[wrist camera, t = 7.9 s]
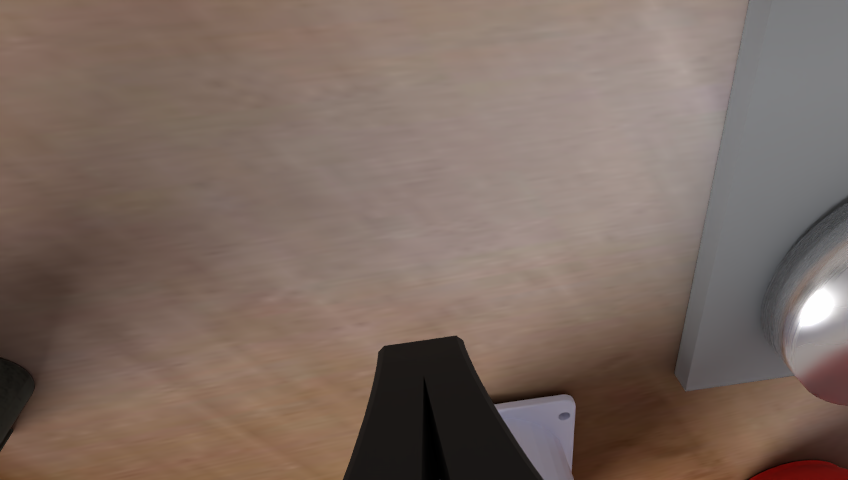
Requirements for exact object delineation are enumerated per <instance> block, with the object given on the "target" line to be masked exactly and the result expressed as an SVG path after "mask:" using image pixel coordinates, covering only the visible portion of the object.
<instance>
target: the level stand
mask: <svg viewBox="0 0 848 480" xmlns="http://www.w3.org/2000/svg"><path fill="white" fill-rule="evenodd" d="M847 202H848V0H749V5H748V10H747V15H746V20H745V25H744V30H743V35H742V40H741V45H740V49H739V54H738V59H737V64H736V69H735V74H734V79H733V84H732V89H731V94H730V99H729V104H728V109H727V114H726V119H725V124H724V129H723V134H722V139H721V144H720V149H719V154H718V159H717V164H716V169H715V174H714V179H713V184H712V189H711V194H710V199H709V204H708V209H707V214H706V219H705V224H704V229H703V234H702V239H701V244H700V249H699V254H698V259H697V264H696V269H695V274H694V278H693V283H692V288H691V293H690V298H689V303H688V308H687V313H686V318H685V323H684V328H683V333H682V338H681V343H680V348H679V353H678V358H677V363H676V368H675V373H674V374H675V375H676V377H677V379H678V380H679V382H680V384H681V385H682V387H683V388H684V390H685V391H692V390H699V389H705V388H712V387H719V386H726V385H733V384H740V383H747V382H754V381H760V380H767V379H774V378H781V377H788V376H795V375H794V374H793V373H792V372H791V370H790V369H789V368H788V367H787V366H786V365H785V363H784V362H783V361H782V360H781V359H780V358H779V356H778V355H777V354H776V353H775V352H774V351H773V349H772V348H771V347H770V346H769V345H768V343H767V341H766V339H765V338H764V335H763V332H762V328H761V318H760V316H761V306H762V302H763V298H764V294H765V292H766V289H767V287H768V285H769V282H770V280H771V278H772V277H773V275H774V273H775V271H776V270H777V268H778V266H779V265H780V264H781V262H782V261H783V260H784V258H785V257H786V255H787V254H788V253H789V252H790V251H791V249H792V248H793V247H794V246H795V245H796V244H797V243H798V242H799V240H800V239H802V238H803V237H804V236H805V235H806V234H807V233H808V232H809V231H810V230H811V229H812V228H813V227H814V226H816V225H817V224H818V223H819V222H821V221H822V220H823V219H824V218H826V217H827V216H828V215H829V214H831V213H832V212H834V211H835V210H837V209H838V208H840V207H841V206H843V205H844V204H846V203H847Z"/></svg>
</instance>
